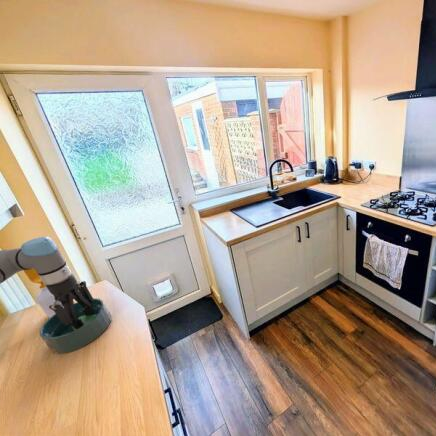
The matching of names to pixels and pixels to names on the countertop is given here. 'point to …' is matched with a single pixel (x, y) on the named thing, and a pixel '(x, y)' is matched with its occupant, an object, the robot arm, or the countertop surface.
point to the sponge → (86, 319)
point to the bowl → (73, 339)
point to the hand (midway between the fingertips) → (89, 326)
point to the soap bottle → (42, 293)
